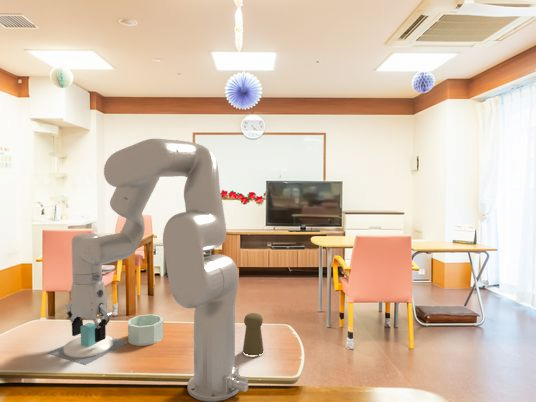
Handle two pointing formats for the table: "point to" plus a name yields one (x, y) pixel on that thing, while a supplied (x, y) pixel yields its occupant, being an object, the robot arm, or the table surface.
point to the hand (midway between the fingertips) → (88, 337)
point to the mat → (60, 353)
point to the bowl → (145, 329)
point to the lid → (87, 344)
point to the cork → (253, 334)
